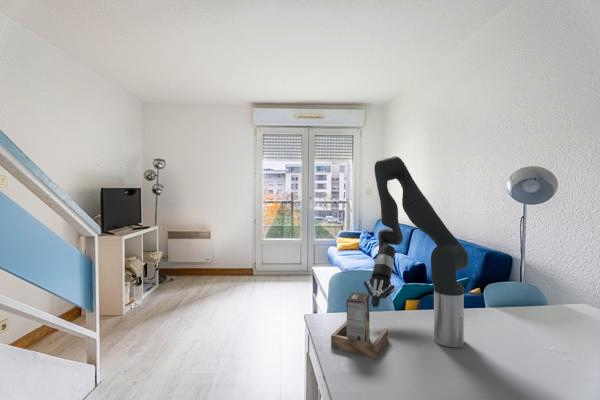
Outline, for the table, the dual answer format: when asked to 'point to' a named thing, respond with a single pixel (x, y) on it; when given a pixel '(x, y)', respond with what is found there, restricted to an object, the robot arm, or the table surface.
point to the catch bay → (358, 342)
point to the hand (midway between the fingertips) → (374, 306)
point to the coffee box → (358, 316)
